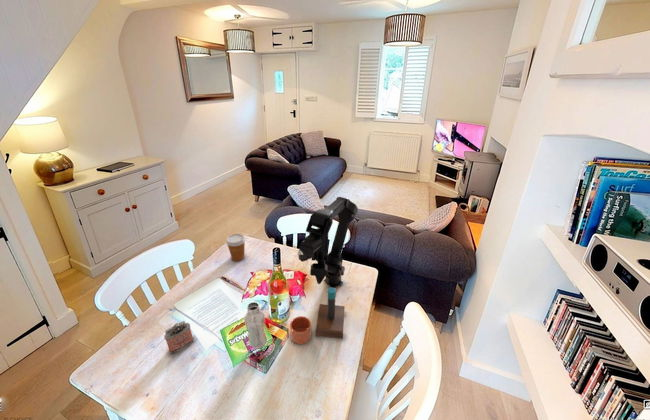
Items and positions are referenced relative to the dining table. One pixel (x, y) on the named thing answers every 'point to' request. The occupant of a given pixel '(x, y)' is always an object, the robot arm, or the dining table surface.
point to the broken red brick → (178, 337)
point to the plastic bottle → (255, 325)
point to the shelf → (330, 322)
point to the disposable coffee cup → (236, 246)
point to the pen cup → (300, 330)
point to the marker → (331, 303)
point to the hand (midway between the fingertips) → (319, 276)
